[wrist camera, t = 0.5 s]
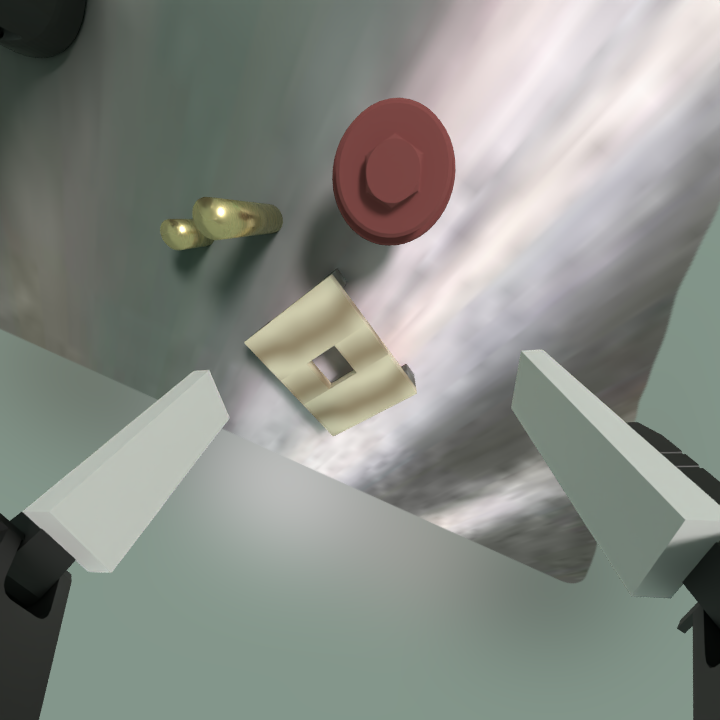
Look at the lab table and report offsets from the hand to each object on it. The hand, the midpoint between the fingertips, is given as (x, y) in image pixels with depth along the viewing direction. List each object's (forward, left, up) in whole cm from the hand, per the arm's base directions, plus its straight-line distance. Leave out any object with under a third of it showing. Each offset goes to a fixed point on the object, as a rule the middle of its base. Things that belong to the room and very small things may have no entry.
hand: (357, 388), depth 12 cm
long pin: (-13, -7, -25) cm, 29 cm away
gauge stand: (+5, -11, -25) cm, 28 cm away
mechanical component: (-7, +6, -25) cm, 27 cm away
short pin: (-17, -15, -25) cm, 33 cm away
